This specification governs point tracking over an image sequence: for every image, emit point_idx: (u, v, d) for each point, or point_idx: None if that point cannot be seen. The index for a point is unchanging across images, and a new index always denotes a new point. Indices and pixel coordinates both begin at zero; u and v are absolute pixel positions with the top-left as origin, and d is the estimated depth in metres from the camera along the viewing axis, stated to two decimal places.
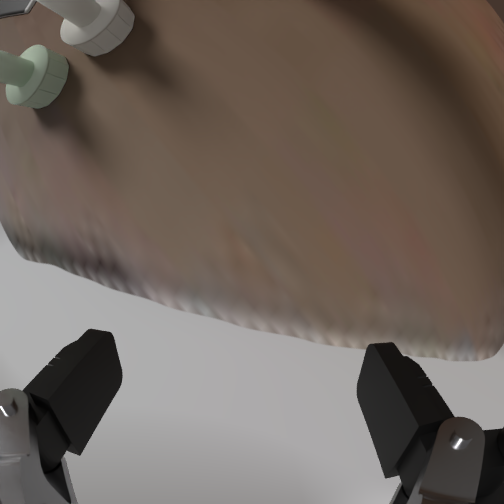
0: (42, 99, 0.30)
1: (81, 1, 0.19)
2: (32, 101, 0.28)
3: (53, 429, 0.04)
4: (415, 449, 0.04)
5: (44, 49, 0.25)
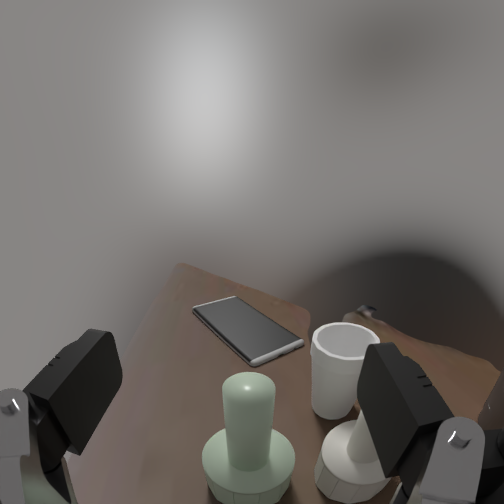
0: (242, 502, 0.21)
1: None
2: (234, 496, 0.21)
3: (53, 429, 0.04)
4: (415, 449, 0.04)
5: (292, 451, 0.26)
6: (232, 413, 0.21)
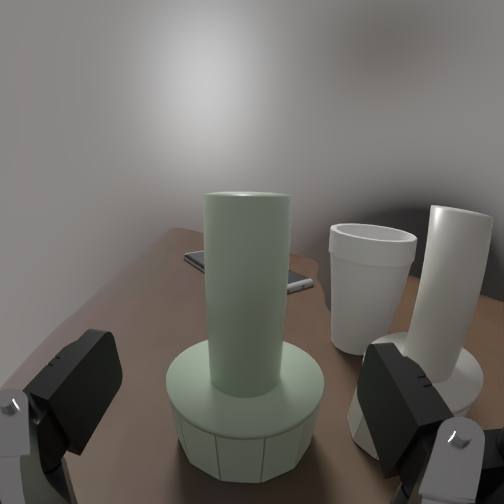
0: (233, 463, 0.13)
1: None
2: (217, 447, 0.13)
3: (53, 429, 0.04)
4: (415, 449, 0.04)
5: (317, 368, 0.18)
6: (217, 226, 0.13)
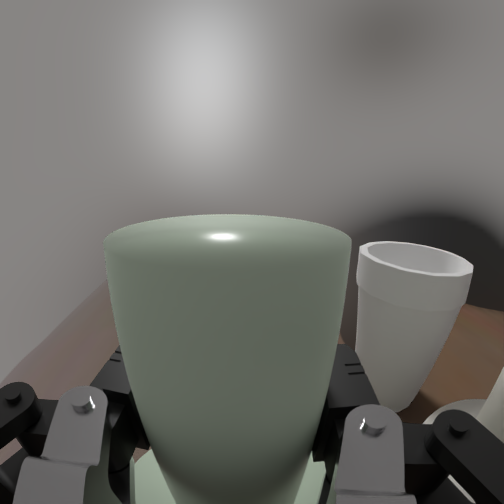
0: None
1: None
2: None
3: (129, 424, 0.05)
4: (332, 433, 0.05)
5: None
6: (132, 344, 0.04)
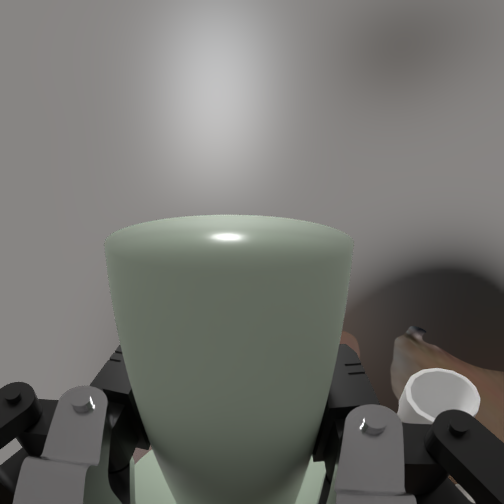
0: None
1: None
2: None
3: (128, 424, 0.05)
4: (332, 433, 0.05)
5: None
6: (133, 346, 0.04)
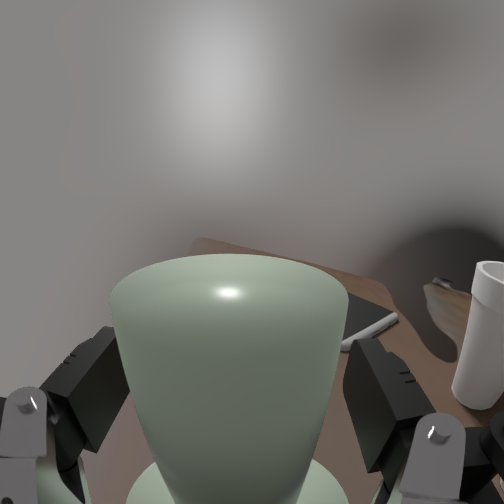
0: None
1: None
2: None
3: (71, 427, 0.05)
4: (395, 444, 0.05)
5: (342, 498, 0.09)
6: (144, 398, 0.04)
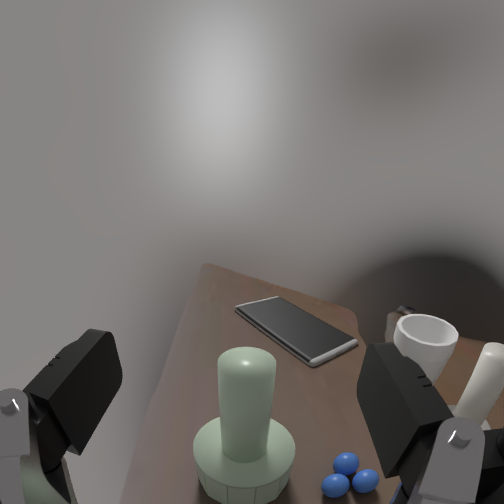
0: (236, 498, 0.20)
1: (492, 407, 0.18)
2: (227, 491, 0.19)
3: (53, 429, 0.04)
4: (415, 449, 0.04)
5: (292, 441, 0.24)
6: (228, 389, 0.19)
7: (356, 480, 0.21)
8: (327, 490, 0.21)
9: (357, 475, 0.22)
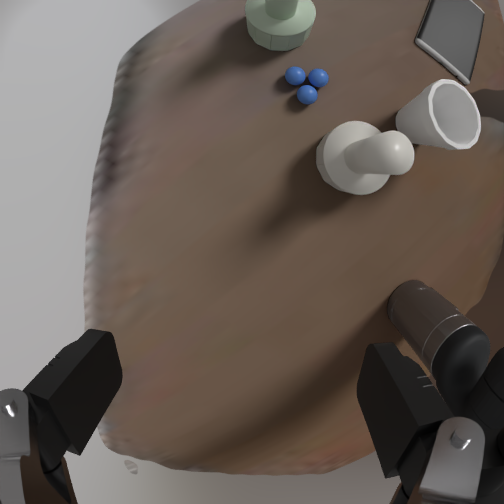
0: (249, 29, 0.33)
1: (366, 171, 0.31)
2: None
3: (53, 429, 0.04)
4: (415, 449, 0.04)
5: (302, 29, 0.30)
6: None
7: (302, 86, 0.36)
8: (287, 70, 0.35)
9: (307, 85, 0.36)
